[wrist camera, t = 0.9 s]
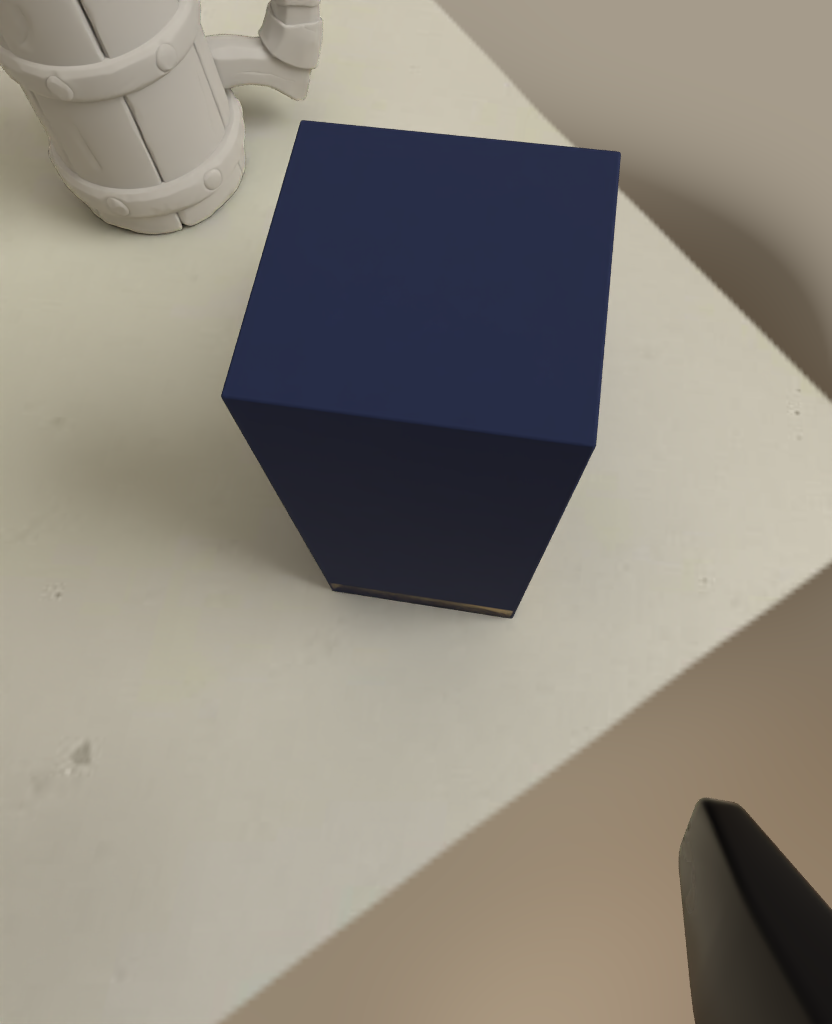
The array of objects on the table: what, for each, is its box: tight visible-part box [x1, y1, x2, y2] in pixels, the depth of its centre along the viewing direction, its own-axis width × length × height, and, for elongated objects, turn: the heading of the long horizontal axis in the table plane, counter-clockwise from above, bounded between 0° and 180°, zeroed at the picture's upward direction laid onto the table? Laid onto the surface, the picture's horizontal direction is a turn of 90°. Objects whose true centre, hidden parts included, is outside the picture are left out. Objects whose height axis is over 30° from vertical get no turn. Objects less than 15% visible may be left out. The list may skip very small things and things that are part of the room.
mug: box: [0, 0, 323, 234], centre depth 25 cm, size 8×12×12 cm, turn 115°
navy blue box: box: [221, 120, 621, 618], centre depth 19 cm, size 13×6×13 cm, turn 171°
